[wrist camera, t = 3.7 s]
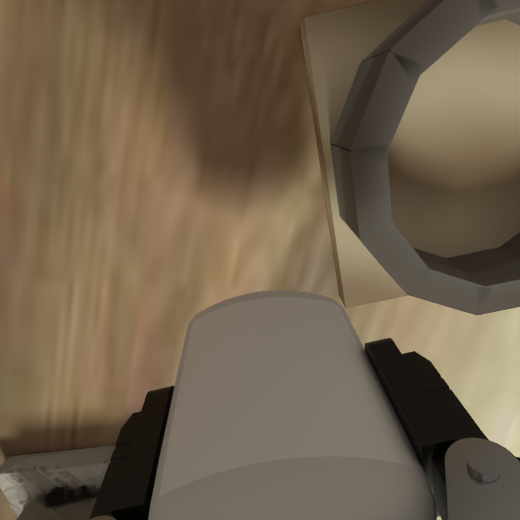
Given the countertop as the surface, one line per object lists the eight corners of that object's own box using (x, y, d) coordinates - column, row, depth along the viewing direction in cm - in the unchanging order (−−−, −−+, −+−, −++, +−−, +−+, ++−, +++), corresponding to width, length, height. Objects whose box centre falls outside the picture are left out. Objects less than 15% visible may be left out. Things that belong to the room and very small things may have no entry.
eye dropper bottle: (217, 251, 13) (81, 1238, 2) (361, 306, 14) (844, 1113, 3) (175, 352, 14) (-45, 1231, 3) (308, 393, 15) (490, 1149, 4)
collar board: (299, 24, 15) (320, -8, 11) (613, -49, 14) (754, -109, 10) (339, 296, 19) (364, 344, 15) (581, 246, 19) (671, 283, 15)
